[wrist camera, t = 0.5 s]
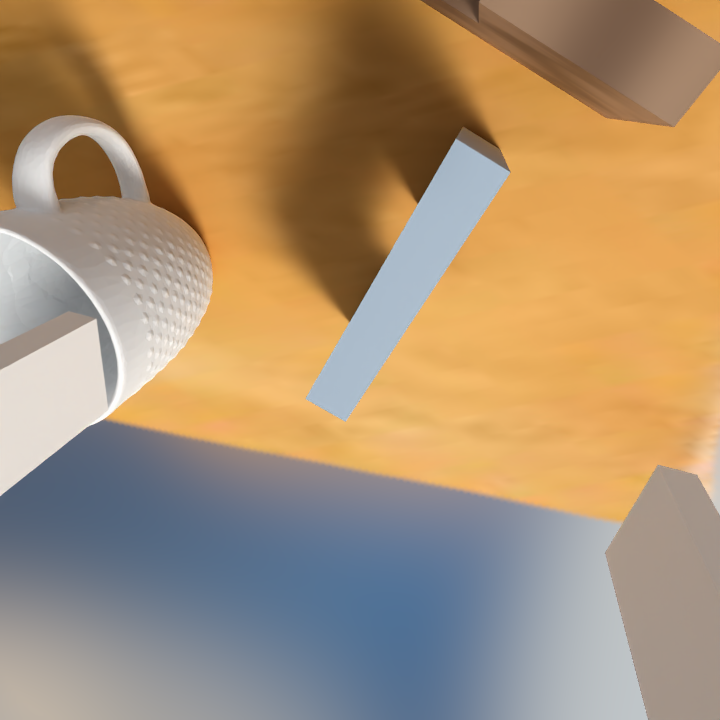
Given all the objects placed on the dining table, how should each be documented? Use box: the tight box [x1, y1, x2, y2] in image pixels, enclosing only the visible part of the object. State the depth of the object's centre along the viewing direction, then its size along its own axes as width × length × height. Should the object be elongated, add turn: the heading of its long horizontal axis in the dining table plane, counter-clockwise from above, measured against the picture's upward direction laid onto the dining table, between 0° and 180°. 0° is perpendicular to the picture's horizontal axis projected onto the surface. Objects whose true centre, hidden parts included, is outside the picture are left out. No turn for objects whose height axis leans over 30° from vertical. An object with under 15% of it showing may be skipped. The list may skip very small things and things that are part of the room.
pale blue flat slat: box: [306, 127, 510, 422], centre depth 26 cm, size 14×2×10 cm, turn 152°
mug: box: [0, 115, 213, 426], centre depth 28 cm, size 15×11×13 cm
